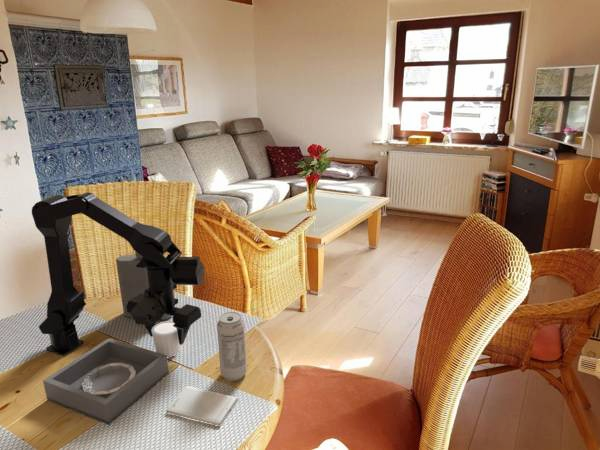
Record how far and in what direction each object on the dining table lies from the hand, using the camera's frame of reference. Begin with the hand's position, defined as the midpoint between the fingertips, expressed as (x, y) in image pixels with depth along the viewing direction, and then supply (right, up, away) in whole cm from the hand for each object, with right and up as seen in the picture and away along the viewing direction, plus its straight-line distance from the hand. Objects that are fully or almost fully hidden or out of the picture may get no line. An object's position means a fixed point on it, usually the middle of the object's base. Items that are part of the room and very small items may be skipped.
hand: (166, 339), depth 114 cm
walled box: (-9, -8, -11) cm, 17 cm away
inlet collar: (-9, -8, -11) cm, 17 cm away
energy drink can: (+18, -6, -8) cm, 20 cm away
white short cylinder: (0, -4, +1) cm, 4 cm away
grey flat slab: (+13, -10, -18) cm, 24 cm away
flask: (-11, +2, +20) cm, 22 cm away
